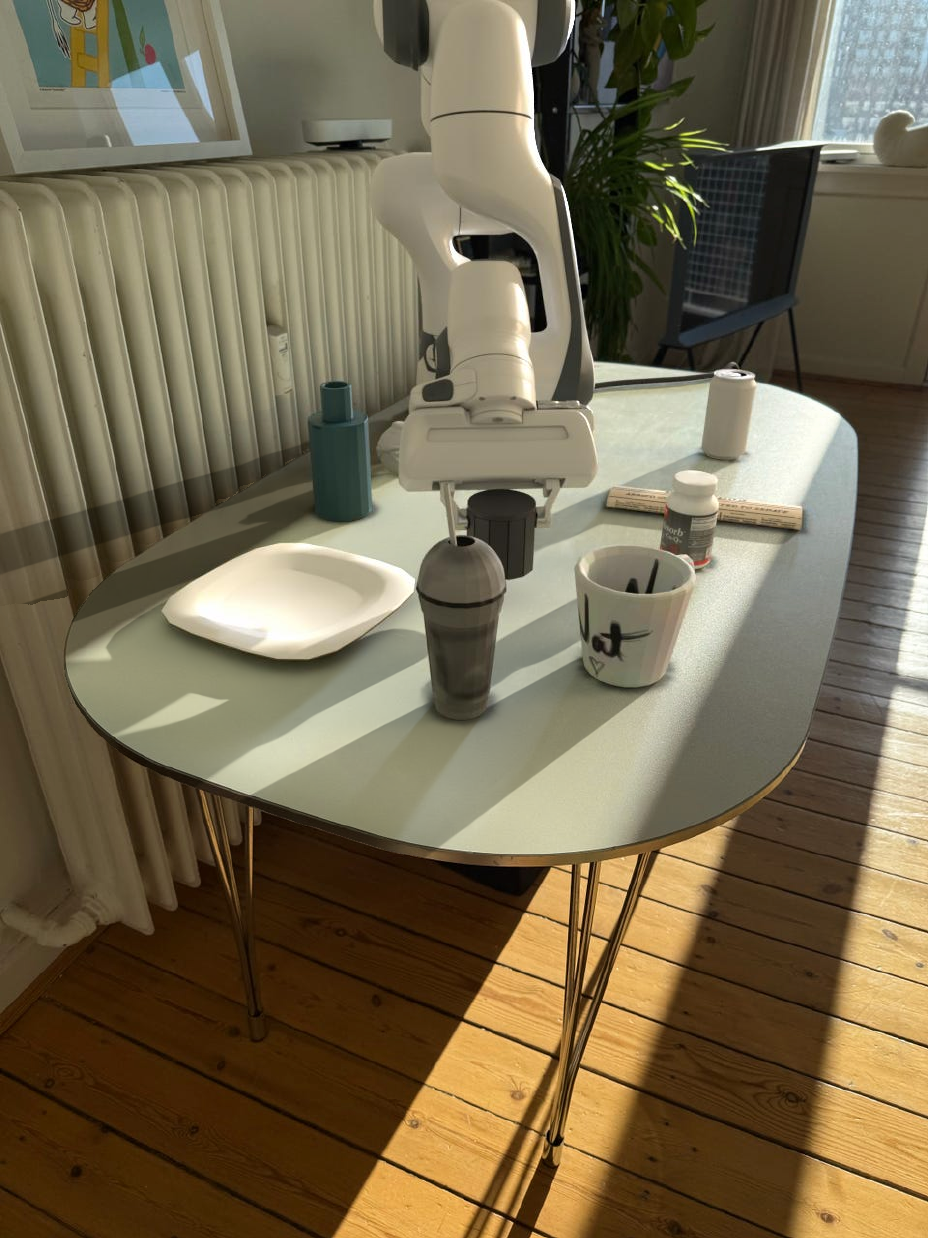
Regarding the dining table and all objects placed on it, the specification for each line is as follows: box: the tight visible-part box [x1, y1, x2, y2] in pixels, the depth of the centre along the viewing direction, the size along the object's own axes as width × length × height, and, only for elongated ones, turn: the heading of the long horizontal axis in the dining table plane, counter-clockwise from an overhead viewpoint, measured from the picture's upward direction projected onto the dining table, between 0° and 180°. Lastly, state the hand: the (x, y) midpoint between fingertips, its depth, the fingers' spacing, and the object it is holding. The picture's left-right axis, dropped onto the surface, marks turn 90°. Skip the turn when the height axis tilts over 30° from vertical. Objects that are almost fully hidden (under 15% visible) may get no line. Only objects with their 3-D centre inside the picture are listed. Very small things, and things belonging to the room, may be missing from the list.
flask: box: [307, 380, 373, 523], centre depth 110 cm, size 7×7×16 cm
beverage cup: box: [415, 483, 508, 721], centre depth 72 cm, size 7×7×20 cm
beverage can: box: [700, 368, 757, 461], centre depth 130 cm, size 6×6×12 cm
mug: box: [573, 544, 697, 688], centre depth 82 cm, size 10×15×10 cm
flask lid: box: [466, 489, 537, 581], centre depth 91 cm, size 7×7×7 cm
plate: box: [161, 542, 416, 662], centre depth 92 cm, size 22×22×2 cm
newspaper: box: [605, 484, 803, 531], centre depth 114 cm, size 24×7×2 cm, turn 73°
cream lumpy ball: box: [375, 420, 404, 475], centre depth 125 cm, size 6×7×7 cm
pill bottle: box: [659, 469, 719, 570], centre depth 100 cm, size 6×6×10 cm
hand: (501, 527), depth 90 cm, fingers closed on flask lid, 7 cm apart
